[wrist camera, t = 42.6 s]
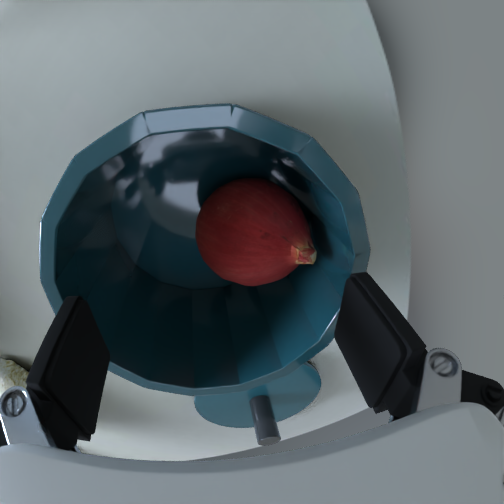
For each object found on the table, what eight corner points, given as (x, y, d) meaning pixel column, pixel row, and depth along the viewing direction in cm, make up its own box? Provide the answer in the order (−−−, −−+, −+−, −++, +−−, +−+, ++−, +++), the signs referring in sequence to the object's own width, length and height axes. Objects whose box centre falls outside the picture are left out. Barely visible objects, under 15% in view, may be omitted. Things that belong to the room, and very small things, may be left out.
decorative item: (84, 435, 24) (36, 455, 21) (71, 384, 31) (27, 407, 27) (18, 388, 17) (-30, 415, 13) (17, 331, 23) (-27, 360, 19)
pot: (301, 107, 17) (388, 115, 8) (292, 283, 23) (337, 374, 15) (91, 124, 15) (4, 147, 6) (126, 299, 21) (102, 397, 13)
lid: (327, 341, 28) (353, 391, 22) (308, 409, 35) (322, 448, 29) (183, 360, 25) (184, 419, 20) (203, 425, 32) (208, 468, 27)
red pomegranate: (216, 152, 17) (333, 164, 12) (253, 214, 21) (353, 245, 16) (150, 221, 15) (256, 270, 10) (203, 277, 19) (300, 331, 14)
